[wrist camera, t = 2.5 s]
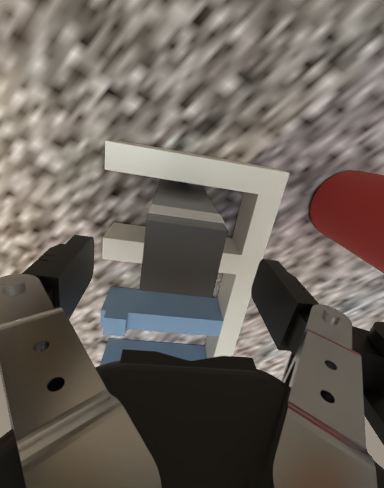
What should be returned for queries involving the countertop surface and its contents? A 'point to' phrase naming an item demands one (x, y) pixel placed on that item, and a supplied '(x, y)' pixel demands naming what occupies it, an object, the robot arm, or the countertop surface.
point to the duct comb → (232, 262)
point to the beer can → (353, 213)
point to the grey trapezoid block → (182, 242)
